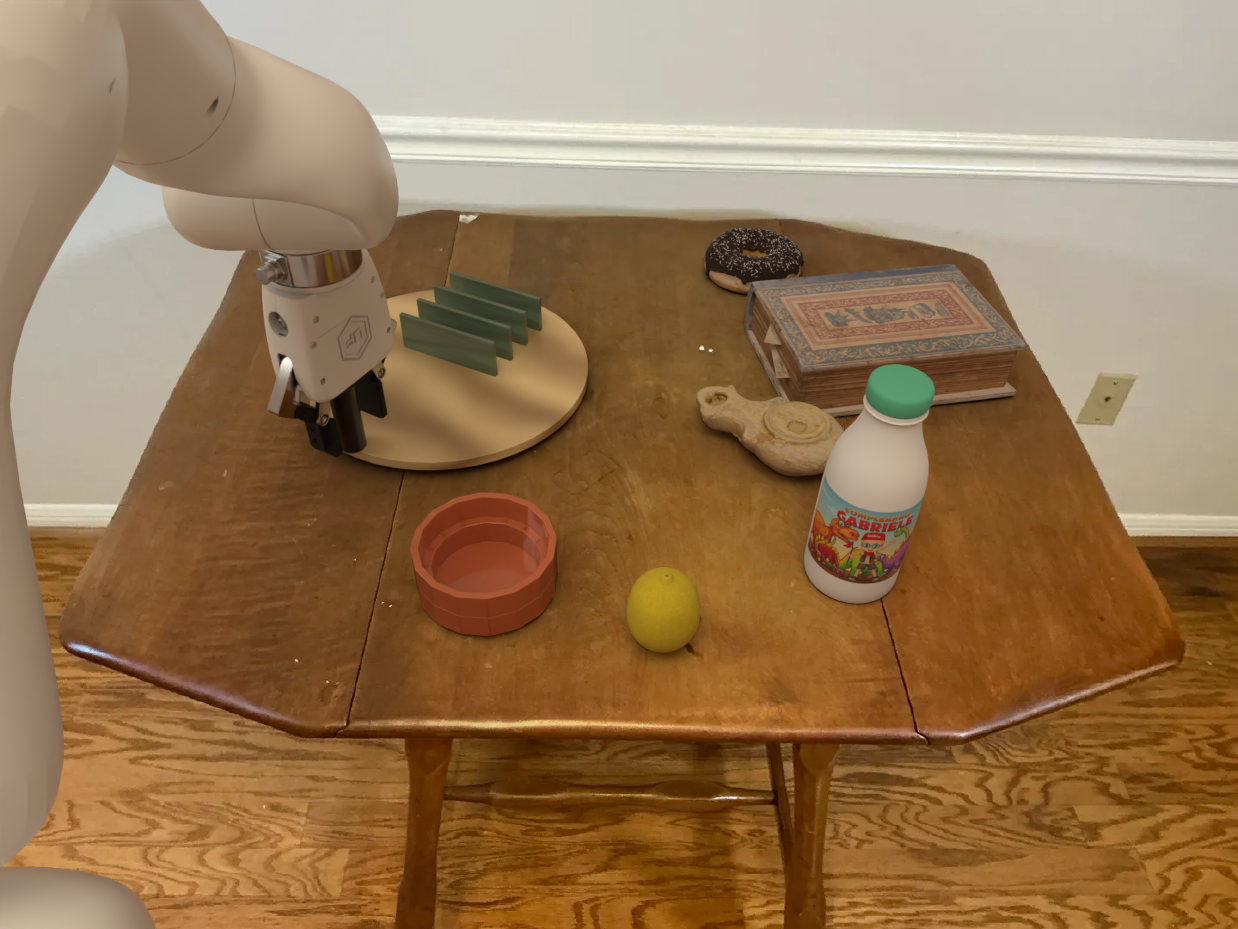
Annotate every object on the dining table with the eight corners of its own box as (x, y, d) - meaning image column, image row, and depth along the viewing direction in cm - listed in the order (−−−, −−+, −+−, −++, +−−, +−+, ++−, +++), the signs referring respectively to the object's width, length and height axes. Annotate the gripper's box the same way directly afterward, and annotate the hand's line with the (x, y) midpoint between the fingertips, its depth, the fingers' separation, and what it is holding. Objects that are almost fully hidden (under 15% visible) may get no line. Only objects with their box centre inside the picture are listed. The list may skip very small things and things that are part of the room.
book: (1034, 344, 93) (792, 370, 89) (1013, 399, 97) (782, 425, 93) (955, 258, 105) (739, 277, 101) (940, 310, 109) (732, 330, 105)
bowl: (512, 660, 72) (508, 619, 68) (390, 607, 75) (381, 565, 72) (580, 561, 79) (580, 520, 76) (467, 517, 83) (462, 476, 79)
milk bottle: (790, 542, 82) (831, 353, 68) (874, 532, 83) (931, 344, 69) (820, 612, 76) (871, 421, 62) (910, 600, 77) (979, 410, 64)
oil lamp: (693, 412, 94) (697, 372, 91) (837, 422, 94) (847, 381, 90) (691, 486, 86) (696, 445, 83) (849, 496, 86) (860, 456, 83)
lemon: (626, 673, 71) (629, 606, 66) (623, 615, 75) (626, 547, 70) (699, 672, 71) (709, 605, 66) (692, 614, 75) (701, 546, 70)
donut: (702, 248, 118) (704, 219, 115) (796, 252, 118) (801, 223, 115) (704, 297, 110) (707, 267, 107) (806, 301, 110) (811, 271, 107)
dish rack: (488, 515, 82) (481, 445, 76) (229, 415, 90) (206, 346, 85) (635, 339, 101) (638, 274, 96) (410, 271, 110) (401, 208, 105)
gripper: (268, 319, 66) (317, 504, 78) (418, 218, 77) (441, 393, 90) (190, 290, 69) (249, 473, 81) (346, 195, 80) (378, 369, 92)
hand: (350, 429), depth 85 cm, fingers open, 5 cm apart
